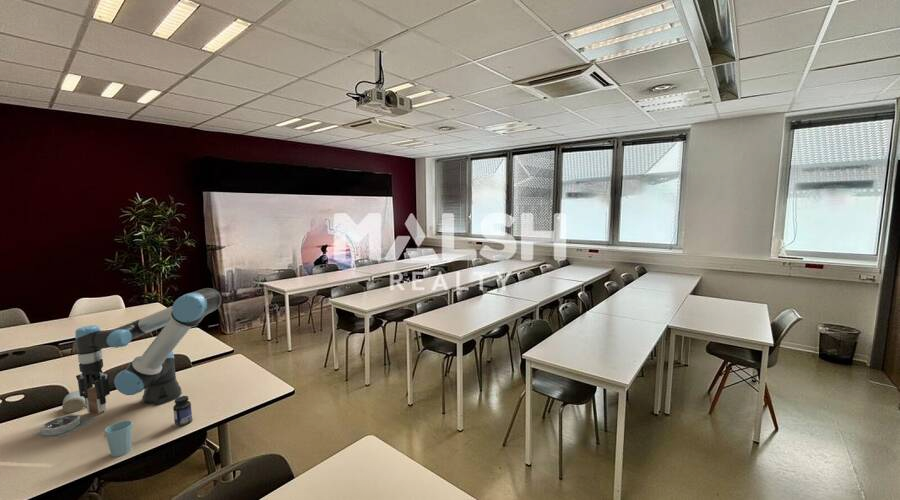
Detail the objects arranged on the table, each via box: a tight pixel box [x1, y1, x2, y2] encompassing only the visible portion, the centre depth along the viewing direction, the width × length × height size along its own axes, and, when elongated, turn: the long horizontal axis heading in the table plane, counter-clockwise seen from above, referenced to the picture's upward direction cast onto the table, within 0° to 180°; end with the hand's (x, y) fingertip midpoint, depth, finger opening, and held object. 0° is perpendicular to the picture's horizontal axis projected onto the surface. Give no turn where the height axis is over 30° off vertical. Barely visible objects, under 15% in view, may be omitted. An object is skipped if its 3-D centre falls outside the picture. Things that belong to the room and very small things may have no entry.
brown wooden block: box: [87, 386, 105, 415], centre depth 163 cm, size 2×4×12 cm, turn 86°
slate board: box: [32, 416, 98, 438], centre depth 153 cm, size 13×14×1 cm
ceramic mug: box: [61, 390, 87, 414], centre depth 168 cm, size 11×8×8 cm
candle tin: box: [40, 413, 82, 436], centre depth 152 cm, size 11×11×3 cm
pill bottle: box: [172, 395, 193, 427], centre depth 156 cm, size 6×6×11 cm
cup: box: [104, 420, 133, 458], centre depth 137 cm, size 8×8×10 cm
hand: (96, 410), depth 164 cm, fingers closed on brown wooden block, 4 cm apart
